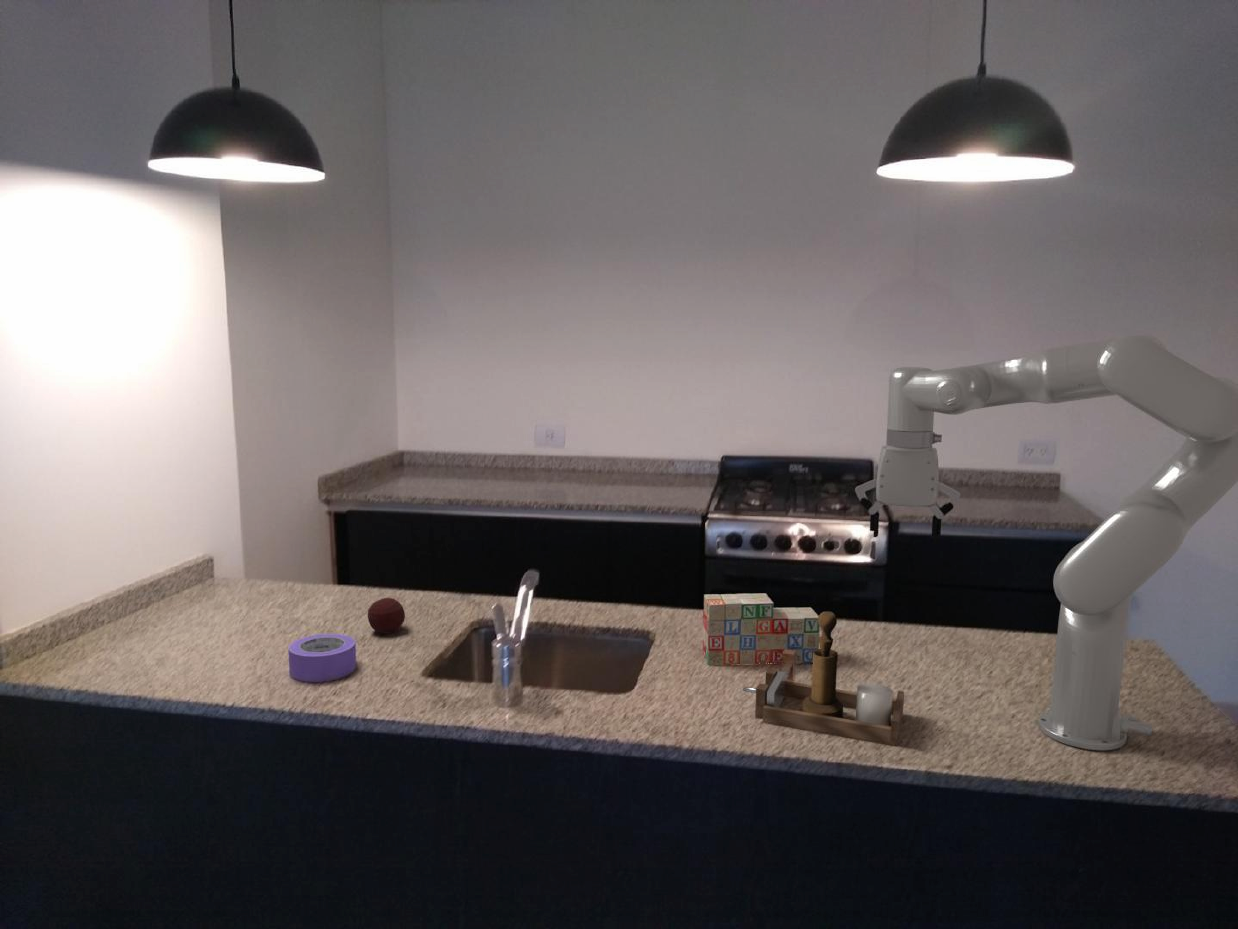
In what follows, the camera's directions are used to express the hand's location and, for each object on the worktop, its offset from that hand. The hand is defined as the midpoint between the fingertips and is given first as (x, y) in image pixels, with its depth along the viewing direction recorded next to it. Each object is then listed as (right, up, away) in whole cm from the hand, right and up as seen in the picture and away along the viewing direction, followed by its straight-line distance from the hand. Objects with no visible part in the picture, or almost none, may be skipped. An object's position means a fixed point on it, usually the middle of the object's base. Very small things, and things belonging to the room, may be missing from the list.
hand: (904, 537), depth 156 cm
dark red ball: (-98, -22, +29) cm, 104 cm away
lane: (-15, -29, -8) cm, 34 cm away
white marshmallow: (-9, -30, -11) cm, 33 cm away
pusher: (-24, -28, -1) cm, 37 cm away
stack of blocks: (-23, -25, +17) cm, 38 cm away
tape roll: (-104, -26, +10) cm, 108 cm away
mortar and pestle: (-16, -29, -8) cm, 34 cm away
